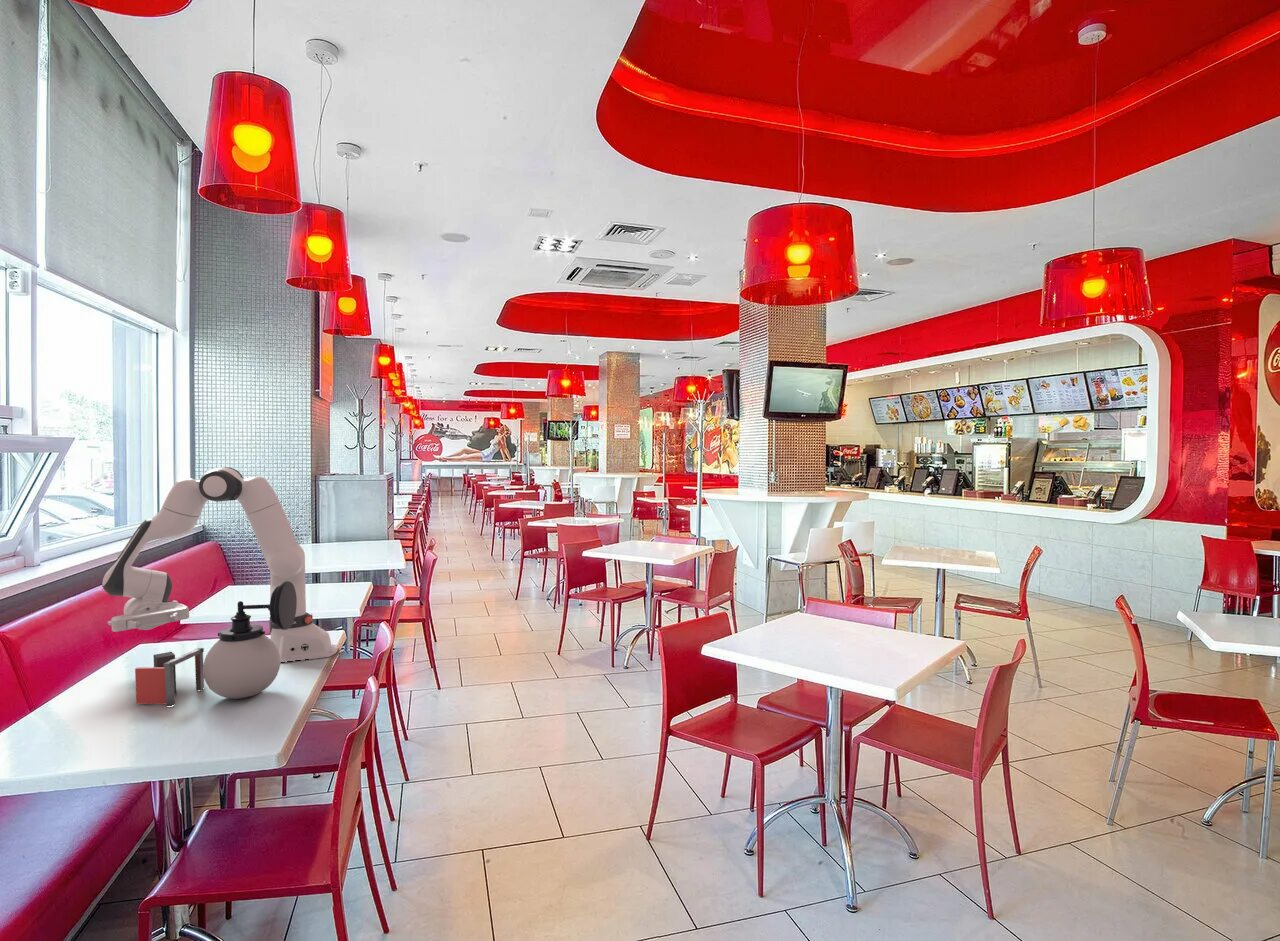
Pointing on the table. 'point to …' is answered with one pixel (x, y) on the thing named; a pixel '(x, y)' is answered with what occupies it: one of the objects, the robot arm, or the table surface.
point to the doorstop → (163, 658)
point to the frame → (170, 673)
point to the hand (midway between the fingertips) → (155, 622)
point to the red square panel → (150, 685)
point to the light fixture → (249, 649)
